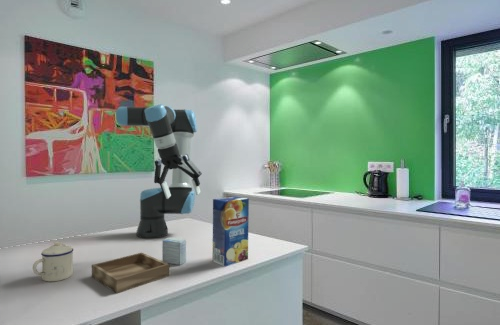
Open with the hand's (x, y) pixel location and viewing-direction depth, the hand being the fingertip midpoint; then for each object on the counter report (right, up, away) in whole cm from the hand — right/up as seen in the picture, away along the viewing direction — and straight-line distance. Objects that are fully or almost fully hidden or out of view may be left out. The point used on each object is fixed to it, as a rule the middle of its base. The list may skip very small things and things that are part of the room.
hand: (183, 195), depth 127 cm
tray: (-13, -25, -21) cm, 35 cm away
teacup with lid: (-38, -25, -23) cm, 51 cm away
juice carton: (+19, -25, -4) cm, 32 cm away
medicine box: (-2, -25, -7) cm, 26 cm away
